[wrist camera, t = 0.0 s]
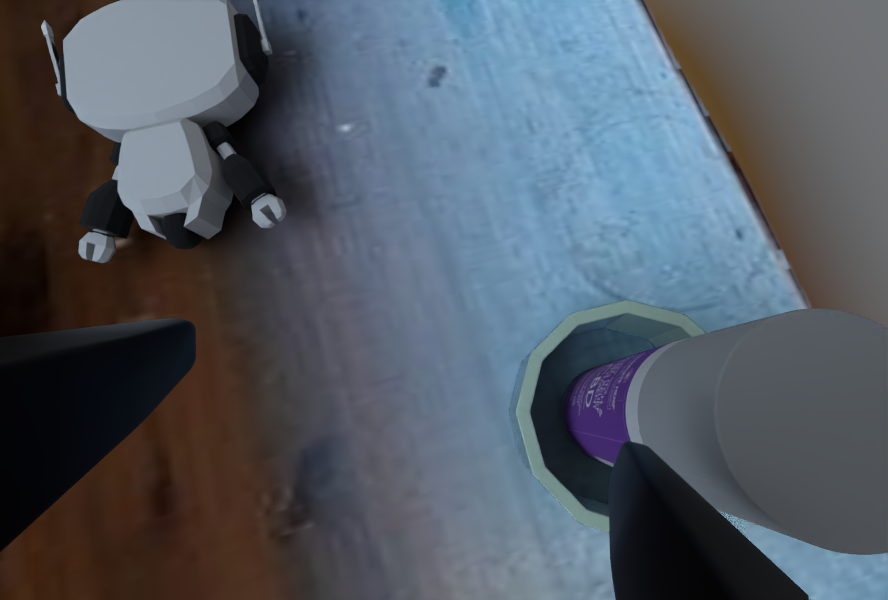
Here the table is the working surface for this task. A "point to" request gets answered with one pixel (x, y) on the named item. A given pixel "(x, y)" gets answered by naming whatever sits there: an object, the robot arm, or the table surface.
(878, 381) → the container
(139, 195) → the robot toy
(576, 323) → the pale green faceted ring
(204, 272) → the table surface
